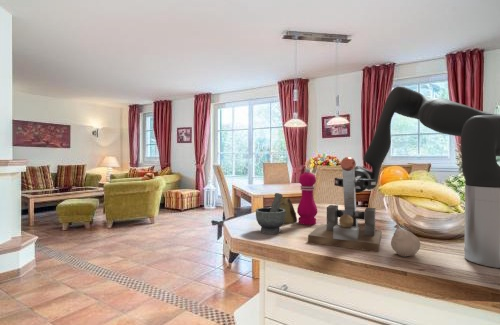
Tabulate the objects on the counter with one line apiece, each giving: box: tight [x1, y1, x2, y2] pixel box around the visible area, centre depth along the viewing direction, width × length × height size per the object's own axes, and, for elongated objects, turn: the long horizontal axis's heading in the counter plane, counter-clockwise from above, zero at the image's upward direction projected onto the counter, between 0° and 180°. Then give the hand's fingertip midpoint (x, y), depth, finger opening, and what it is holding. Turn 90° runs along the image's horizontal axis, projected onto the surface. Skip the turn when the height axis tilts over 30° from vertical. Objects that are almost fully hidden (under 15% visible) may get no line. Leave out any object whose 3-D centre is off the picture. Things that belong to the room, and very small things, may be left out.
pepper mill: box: [296, 168, 318, 226], centre depth 105 cm, size 7×7×20 cm
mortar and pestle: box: [255, 192, 286, 235], centre depth 93 cm, size 11×9×12 cm
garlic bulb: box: [390, 223, 421, 257], centre depth 70 cm, size 7×6×8 cm
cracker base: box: [307, 204, 382, 252], centre depth 84 cm, size 18×16×9 cm
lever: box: [337, 156, 365, 227], centre depth 81 cm, size 8×8×22 cm
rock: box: [279, 197, 298, 224], centre depth 108 cm, size 10×8×10 cm
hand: (350, 184), depth 83 cm, fingers closed
